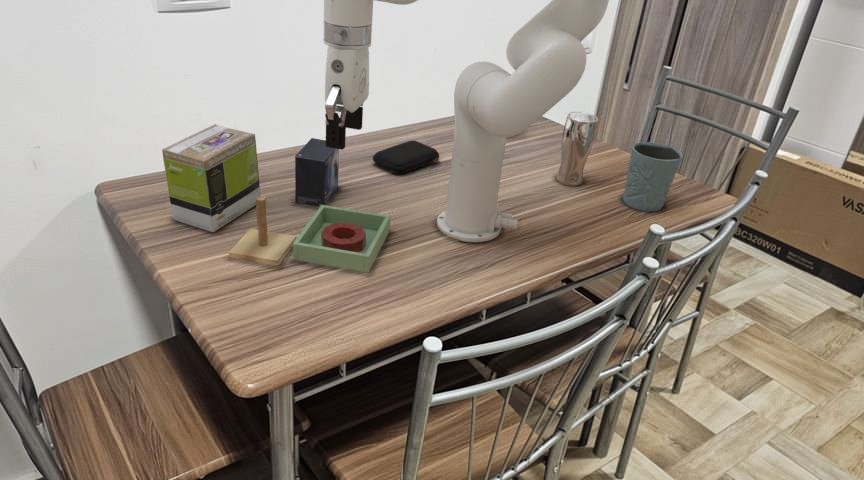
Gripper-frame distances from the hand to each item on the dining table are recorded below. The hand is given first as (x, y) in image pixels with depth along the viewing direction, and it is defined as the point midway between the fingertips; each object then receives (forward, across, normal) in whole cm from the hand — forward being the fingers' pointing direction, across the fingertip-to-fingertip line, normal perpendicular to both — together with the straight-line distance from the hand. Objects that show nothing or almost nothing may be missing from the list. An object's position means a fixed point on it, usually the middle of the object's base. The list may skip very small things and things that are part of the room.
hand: (344, 137), depth 116 cm
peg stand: (+20, -9, +12) cm, 25 cm away
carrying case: (+20, +39, -4) cm, 44 cm away
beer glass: (+19, +43, -40) cm, 62 cm away
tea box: (+20, +2, +26) cm, 33 cm away
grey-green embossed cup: (+19, +37, -57) cm, 70 cm away
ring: (+20, -2, -1) cm, 20 cm away
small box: (+20, +16, +10) cm, 27 cm away
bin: (+20, -2, -1) cm, 20 cm away
